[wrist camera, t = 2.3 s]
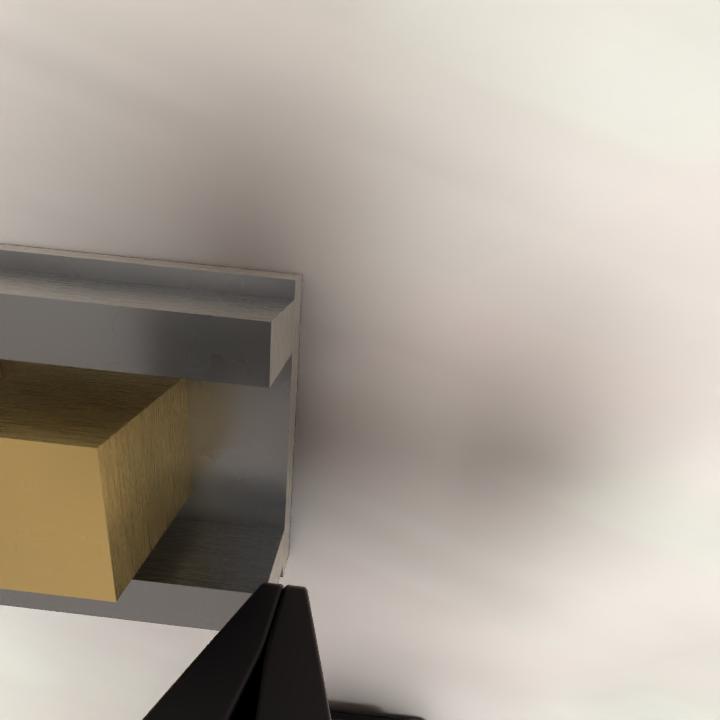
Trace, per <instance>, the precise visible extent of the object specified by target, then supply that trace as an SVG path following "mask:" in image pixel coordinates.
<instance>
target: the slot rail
mask: <svg viewBox="0 0 720 720" xmlns="http://www.w3.org/2000/svg"><path fill="white" fill-rule="evenodd" d="M301 296H302V275H298V274H289V273H279V272H269V271H260V270H250V269H240V268H230V267H221V266H211V265H201V264H192V263H182V262H172V261H162V260H153V259H143V258H133V257H124V256H114V255H104V254H94V253H85V252H75V251H65V250H56V249H46V248H36V247H26V246H17V245H7V244H0V372H1V377H2V380H4V379H6V378H9V377H11V376H13V375H16V374H18V373H20V372H22V371H25V370H27V369H29V368H32V367H34V366H36V365H38V364H41V363H42V364H51V365H61V366H70V367H79V368H88V369H98V370H107V371H116V372H125V373H135V374H144V375H153V376H162V377H172V378H181V379H187V401H188V424H189V447H190V470H191V494H190V496H189V497H188V499H187V500H186V501H185V503H184V504H183V506H182V507H181V509H180V510H179V512H178V513H177V515H176V516H175V517H174V519H173V520H172V522H171V523H170V525H169V526H168V528H167V529H166V531H165V532H164V533H163V535H162V536H161V538H160V539H159V541H158V542H157V544H156V545H155V547H154V548H153V549H152V551H151V552H150V554H149V555H148V557H147V558H146V560H145V561H144V563H143V564H142V565H141V567H140V568H139V570H138V571H137V573H136V574H135V576H134V577H133V579H132V580H131V581H130V583H129V584H128V586H127V587H126V589H125V590H124V592H123V593H122V595H121V596H120V597H119V599H118V600H117V602H110V601H102V600H93V599H85V598H76V597H68V596H59V595H51V594H42V593H34V592H25V591H17V590H8V589H0V605H7V606H15V607H24V608H32V609H41V610H49V611H58V612H66V613H74V614H83V615H91V616H100V617H108V618H117V619H125V620H133V621H142V622H150V623H159V624H167V625H176V626H184V627H193V628H201V629H209V630H218V631H220V630H221V629H222V628H223V627H224V626H225V625H226V623H227V622H228V621H229V620H230V619H231V618H232V617H233V615H234V614H235V613H236V612H237V611H238V610H239V609H240V607H241V606H242V605H243V604H244V603H245V602H246V601H247V599H248V598H249V597H250V596H251V595H252V594H253V593H254V591H255V590H256V589H257V588H258V587H259V586H260V585H261V584H262V583H265V582H267V583H276V584H278V581H279V578H280V577H283V574H284V570H285V566H286V563H287V559H288V556H289V539H290V519H291V499H292V478H293V458H294V438H295V418H296V397H297V377H298V357H299V336H300V316H301Z"/></svg>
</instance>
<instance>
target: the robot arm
mask: <svg viewBox="0 0 720 720" xmlns="http://www.w3.org/2000/svg"><path fill="white" fill-rule="evenodd" d="M142 720H394V719H386V718H378V717H370V716H361V715H353V714H345V713H337V712H330V710H329V704H328V699H327V694H326V688H325V683H324V677H323V672H322V667H321V661H320V656H319V650H318V645H317V640H316V634H315V629H314V624H313V618H312V613H311V607H310V602H309V597H308V591H307V589H306V588H305V587H302V586H293V585H287V586H286V587H285V588H284V586H283V585H282V584H276V583H267V582H265V583H262V584H261V585H260V586H259V587H258V588H257V589H256V590H255V591H254V593H253V594H252V595H251V596H250V597H249V598H248V599H247V601H246V602H245V603H244V604H243V605H242V606H241V607H240V609H239V610H238V611H237V612H236V613H235V614H234V615H233V617H232V618H231V619H230V620H229V621H228V622H227V623H226V625H225V626H224V627H223V628H222V629H221V630H220V631H219V633H218V634H217V635H216V636H215V637H214V638H213V639H212V641H211V642H210V643H209V644H208V645H207V646H206V647H205V649H204V650H203V651H202V652H201V653H200V654H199V655H198V657H197V658H196V659H195V660H194V661H193V662H192V663H191V665H190V666H189V667H188V668H187V669H186V670H185V671H184V673H183V674H182V675H181V676H180V677H179V678H178V679H177V681H176V682H175V683H174V684H173V685H172V686H171V687H170V689H169V690H168V691H167V692H166V693H165V694H164V695H163V697H162V698H161V699H160V700H159V701H158V702H157V703H156V705H155V706H154V707H153V708H152V709H151V710H150V711H149V713H148V714H147V715H146V716H145V717H144V718H143V719H142Z"/></svg>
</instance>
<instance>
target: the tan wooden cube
mask: <svg viewBox="0 0 720 720" xmlns="http://www.w3.org/2000/svg"><path fill="white" fill-rule="evenodd" d="M190 494H191V470H190V447H189V424H188V401H187V379H181V378H172V377H162V376H153V375H144V374H135V373H125V372H116V371H107V370H98V369H88V368H79V367H70V366H61V365H51V364H42V363H41V364H38V365H36V366H34V367H32V368H29V369H27V370H25V371H22V372H20V373H18V374H16V375H13V376H11V377H9V378H6V379H4V380H2V381H0V589H8V590H17V591H25V592H34V593H42V594H51V595H59V596H68V597H76V598H85V599H93V600H102V601H110V602H117V600H118V599H119V597H120V596H121V595H122V593H123V592H124V590H125V589H126V587H127V586H128V584H129V583H130V581H131V580H132V579H133V577H134V576H135V574H136V573H137V571H138V570H139V568H140V567H141V565H142V564H143V563H144V561H145V560H146V558H147V557H148V555H149V554H150V552H151V551H152V549H153V548H154V547H155V545H156V544H157V542H158V541H159V539H160V538H161V536H162V535H163V533H164V532H165V531H166V529H167V528H168V526H169V525H170V523H171V522H172V520H173V519H174V517H175V516H176V515H177V513H178V512H179V510H180V509H181V507H182V506H183V504H184V503H185V501H186V500H187V499H188V497H189V496H190Z"/></svg>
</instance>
